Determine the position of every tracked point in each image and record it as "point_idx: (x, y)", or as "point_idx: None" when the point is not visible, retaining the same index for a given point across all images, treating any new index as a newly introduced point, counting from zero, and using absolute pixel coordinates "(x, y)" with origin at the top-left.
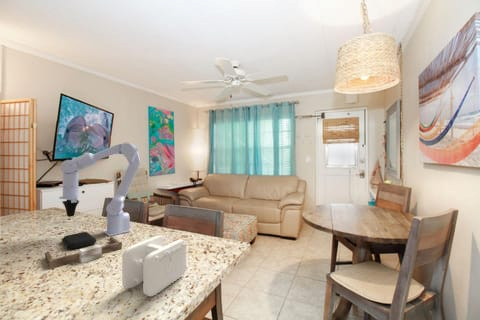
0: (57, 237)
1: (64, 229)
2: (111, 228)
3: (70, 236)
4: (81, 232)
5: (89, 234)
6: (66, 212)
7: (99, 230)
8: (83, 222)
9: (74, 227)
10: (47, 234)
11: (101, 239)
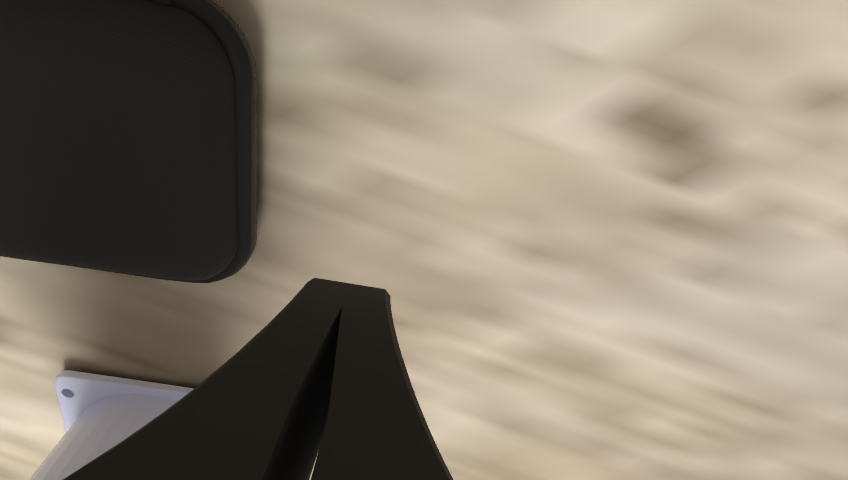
0: (512, 41)
1: (789, 230)
2: (54, 452)
3: (73, 73)
4: (192, 237)
5: (30, 256)
6: (384, 343)
7: None
8: (828, 439)
9: (741, 322)
10: (807, 6)
11: (17, 294)
